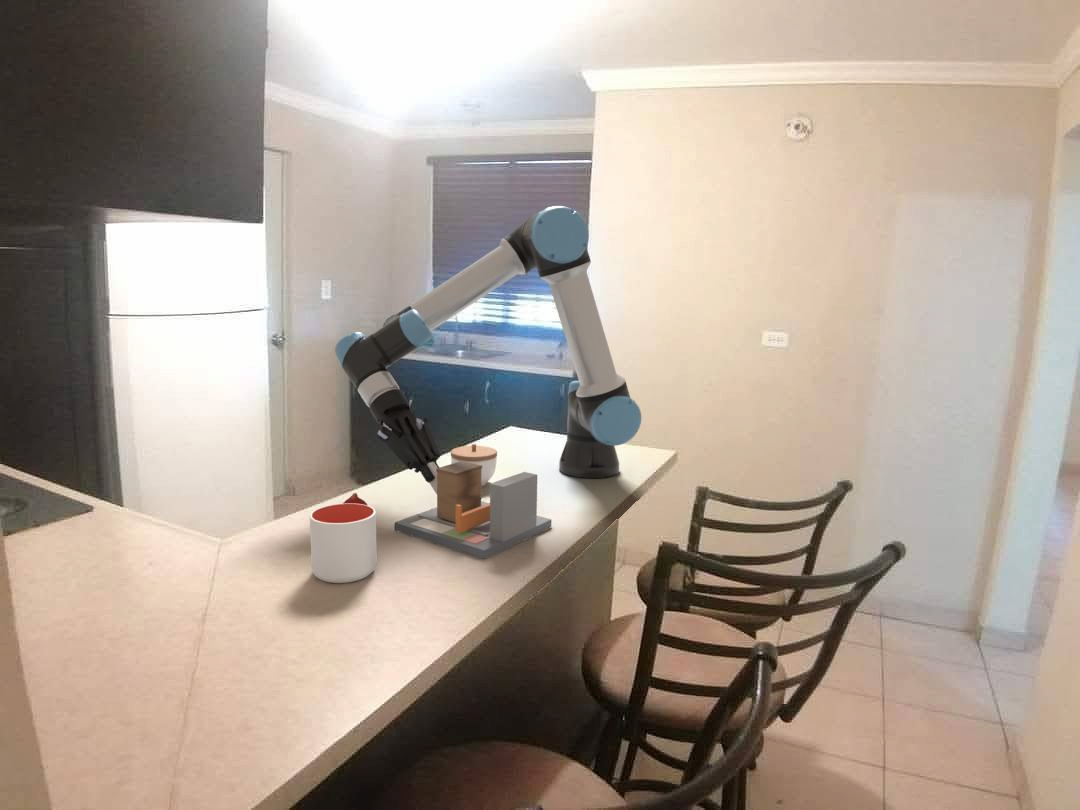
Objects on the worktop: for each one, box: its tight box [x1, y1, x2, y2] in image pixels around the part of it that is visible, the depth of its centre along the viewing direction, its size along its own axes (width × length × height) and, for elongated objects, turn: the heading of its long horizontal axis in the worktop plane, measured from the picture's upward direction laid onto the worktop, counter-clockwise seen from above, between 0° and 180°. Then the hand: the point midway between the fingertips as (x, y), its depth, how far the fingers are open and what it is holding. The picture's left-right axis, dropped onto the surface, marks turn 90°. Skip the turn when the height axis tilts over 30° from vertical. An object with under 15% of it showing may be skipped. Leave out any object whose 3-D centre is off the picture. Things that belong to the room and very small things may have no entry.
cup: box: [309, 503, 378, 584], centre depth 109 cm, size 10×10×10 cm
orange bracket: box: [455, 502, 490, 533], centre depth 126 cm, size 11×1×5 cm, turn 145°
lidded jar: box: [450, 443, 498, 487], centre depth 160 cm, size 11×11×9 cm
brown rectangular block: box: [436, 461, 482, 522], centre depth 132 cm, size 7×5×10 cm
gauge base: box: [393, 471, 552, 560], centre depth 130 cm, size 20×22×12 cm
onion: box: [342, 492, 369, 506], centre depth 126 cm, size 6×6×8 cm
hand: (444, 492), depth 134 cm, fingers closed
